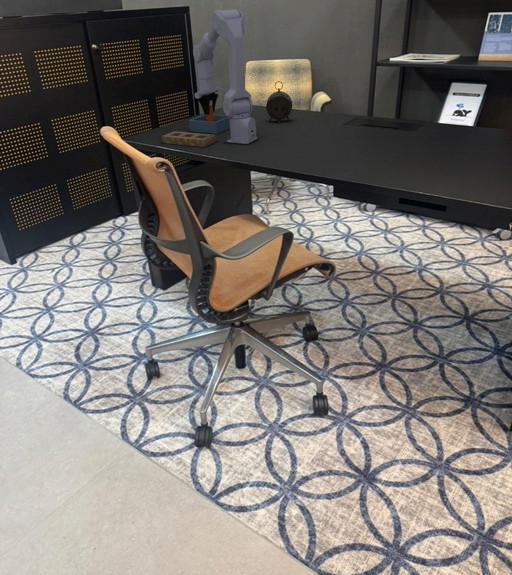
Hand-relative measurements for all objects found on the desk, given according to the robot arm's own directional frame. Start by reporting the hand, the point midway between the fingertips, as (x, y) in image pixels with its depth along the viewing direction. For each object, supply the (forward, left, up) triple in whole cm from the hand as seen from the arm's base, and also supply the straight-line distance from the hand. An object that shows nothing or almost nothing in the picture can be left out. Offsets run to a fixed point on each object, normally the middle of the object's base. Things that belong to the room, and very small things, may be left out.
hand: (209, 113), depth 207 cm
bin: (0, 0, -6) cm, 6 cm away
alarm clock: (-22, -20, -7) cm, 30 cm away
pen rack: (-4, +20, -6) cm, 21 cm away
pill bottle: (0, 0, -3) cm, 3 cm away
